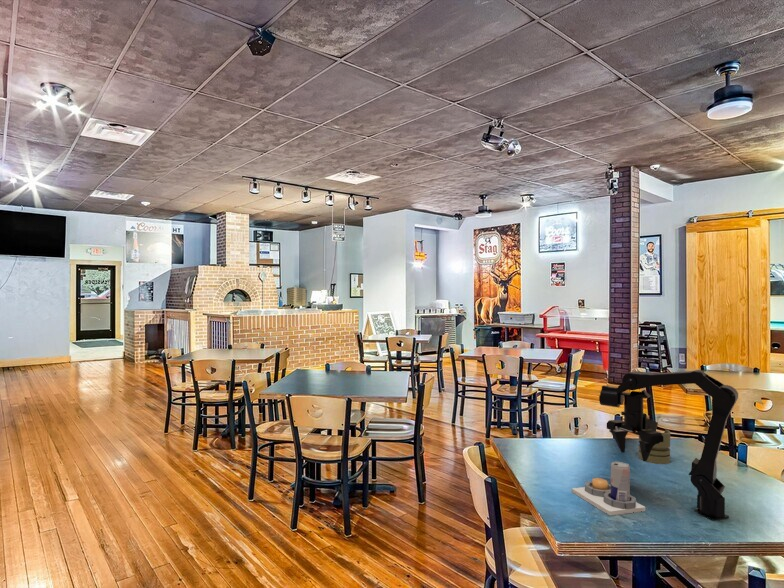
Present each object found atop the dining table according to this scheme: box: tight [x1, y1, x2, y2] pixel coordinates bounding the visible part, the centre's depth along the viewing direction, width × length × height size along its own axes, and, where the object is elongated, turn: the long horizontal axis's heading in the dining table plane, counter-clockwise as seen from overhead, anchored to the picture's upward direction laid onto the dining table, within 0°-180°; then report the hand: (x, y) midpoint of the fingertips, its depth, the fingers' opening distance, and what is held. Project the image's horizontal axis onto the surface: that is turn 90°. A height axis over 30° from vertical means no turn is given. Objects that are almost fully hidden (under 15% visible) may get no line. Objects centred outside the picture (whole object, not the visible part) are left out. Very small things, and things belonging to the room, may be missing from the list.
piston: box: [638, 429, 671, 465], centre depth 194 cm, size 11×12×11 cm
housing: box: [571, 477, 646, 516], centre depth 152 cm, size 18×13×5 cm
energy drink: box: [610, 461, 631, 502], centre depth 148 cm, size 5×5×12 cm
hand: (633, 456), depth 157 cm, fingers open, 9 cm apart
